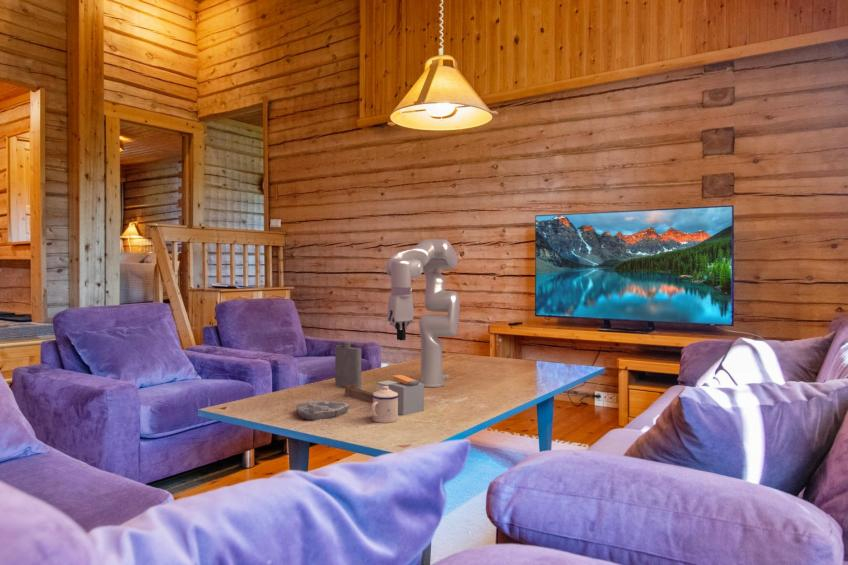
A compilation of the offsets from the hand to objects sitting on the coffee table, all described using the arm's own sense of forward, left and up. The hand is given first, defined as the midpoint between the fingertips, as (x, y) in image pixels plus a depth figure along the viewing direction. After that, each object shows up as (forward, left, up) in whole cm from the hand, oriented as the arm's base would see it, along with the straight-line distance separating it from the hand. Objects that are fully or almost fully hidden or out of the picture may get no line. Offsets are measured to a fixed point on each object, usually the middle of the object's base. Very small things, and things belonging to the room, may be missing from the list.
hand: (401, 339), depth 227 cm
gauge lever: (+5, +8, -15) cm, 17 cm away
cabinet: (+5, +9, -25) cm, 27 cm away
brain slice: (+31, -9, -26) cm, 41 cm away
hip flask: (-4, -40, -25) cm, 47 cm away
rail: (+5, -10, -25) cm, 27 cm away
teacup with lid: (+20, +13, -25) cm, 35 cm away
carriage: (+5, -2, -25) cm, 26 cm away
